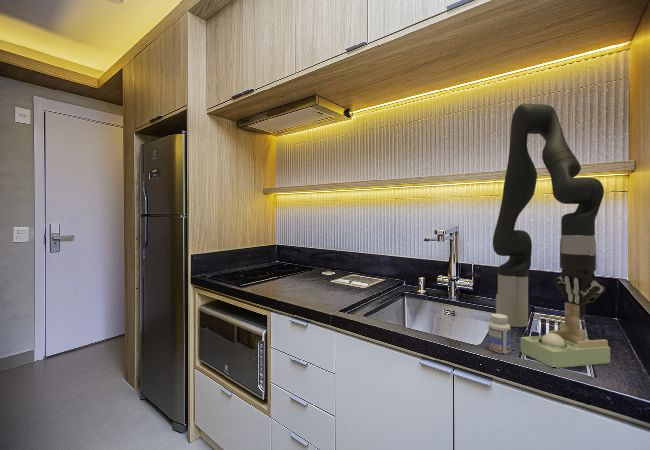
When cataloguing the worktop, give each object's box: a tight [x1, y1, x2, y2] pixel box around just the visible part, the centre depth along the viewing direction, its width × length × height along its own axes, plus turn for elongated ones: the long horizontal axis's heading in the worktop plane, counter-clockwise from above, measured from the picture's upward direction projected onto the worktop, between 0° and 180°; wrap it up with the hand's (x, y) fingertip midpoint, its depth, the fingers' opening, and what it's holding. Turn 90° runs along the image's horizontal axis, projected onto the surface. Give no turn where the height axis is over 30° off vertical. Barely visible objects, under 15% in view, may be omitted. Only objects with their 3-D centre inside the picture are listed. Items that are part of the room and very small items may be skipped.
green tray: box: [520, 329, 611, 369], centre depth 82 cm, size 10×17×6 cm, turn 100°
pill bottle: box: [488, 313, 512, 354], centre depth 86 cm, size 5×5×10 cm
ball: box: [542, 332, 565, 348], centre depth 81 cm, size 5×5×5 cm
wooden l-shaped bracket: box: [559, 302, 586, 343], centre depth 82 cm, size 6×1×10 cm, turn 10°
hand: (577, 316), depth 83 cm, fingers closed
